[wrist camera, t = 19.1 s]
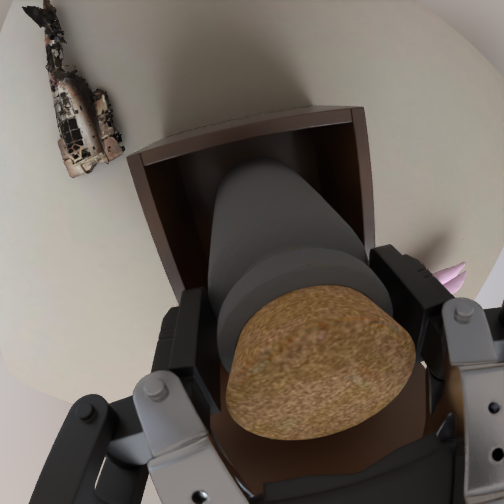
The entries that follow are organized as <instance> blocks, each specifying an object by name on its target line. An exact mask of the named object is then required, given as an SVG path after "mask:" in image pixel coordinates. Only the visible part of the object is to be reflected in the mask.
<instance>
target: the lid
mask: <svg viewBox="0 0 504 504" xmlns="http://www.w3.org/2000/svg"><path fill="white" fill-rule="evenodd" d="M425 371H426V369H425V367H424V366H423V365H422V364H421V363H420V362H419V363H417V364H414V367H413V371H412V373H411V376H410V377H409V379H408V381H407V383H406V384H405V386H404V387H403V389H402V390H401V391H400V393H399V394H398V395H397V396H396V397H395V398H394V399H393V400H392V401H391V402H390V403H389V404H388V405H387V406H385V407H384V408H383V409H382V410H380V411H379V412H378V413H376V414H375V415H373V416H371V417H370V418H368V419H366V420H365V421H363V422H361V423H359V424H358V425H355V426H353V427H351V428H348V429H346V430H343V431H340V432H337V433H334V434H331V435H328V436H324V437H318V438H313V439H305V440H279V439H271V438H267V437H263V436H259V435H256V434H254V433H252V432H249V431H247V430H245V429H244V428H243V427H241V426H240V425H239V424H237V423H236V422H235V421H234V419H233V418H232V417H231V415H230V414H229V412H228V409H227V406H226V390H227V384H228V379H229V375H230V374H229V373H228V372H227V370H226V369H225V368H224V366H223V364H222V362H221V360H220V389H221V413H219V414H211V415H210V427H211V429H212V430H213V432H214V434H215V435H216V437H217V439H218V440H219V442H220V444H221V445H222V447H223V449H224V450H225V452H226V454H227V455H228V457H229V458H230V460H231V462H232V463H233V465H234V466H235V468H236V469H237V471H238V472H239V474H240V475H241V477H242V478H243V479H244V481H245V482H246V484H247V485H248V486H249V488H250V489H251V490H252V492H253V493H254V495H258V494H260V493H263V492H264V491H263V483H268V482H275V481H281V480H286V479H292V478H297V477H302V476H307V475H336V474H352V473H357V472H360V471H362V470H364V469H366V468H367V467H369V466H371V465H372V464H374V463H375V462H377V461H379V460H380V459H382V458H383V457H385V456H386V455H388V454H390V453H391V452H393V451H394V450H396V449H397V448H399V447H401V446H404V445H406V444H409V443H411V442H413V441H416V440H418V439H420V438H422V435H423V431H424V427H425V420H426V390H425Z"/></svg>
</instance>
